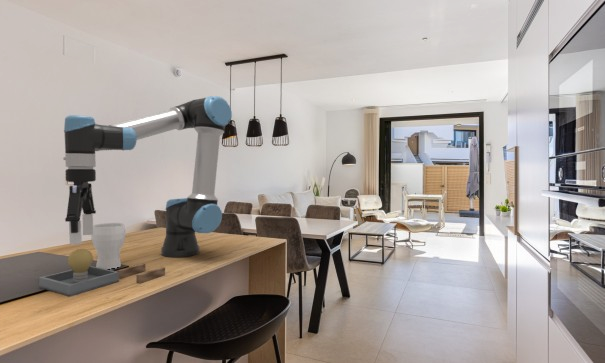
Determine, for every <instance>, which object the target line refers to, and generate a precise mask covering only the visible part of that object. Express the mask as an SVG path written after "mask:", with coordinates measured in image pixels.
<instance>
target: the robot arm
mask: <svg viewBox="0 0 605 363" xmlns="http://www.w3.org/2000/svg"><path fill="white" fill-rule="evenodd" d="M232 116H233V113H232V109H231V107H230V104H229V103H228V101H227V100H225V99H224V98H223V97H222V96H217V95H215V96H212V95H211V96H207V97H202V98H198V99H192V100H189V101H187V102H184V103H181V104H179V105H175V106H171V107H170V109H169V110H167V111H163V112H158V113H154V114H149V115H146V116H141V117H138V118H133V119H130V120H126V121H122V122H117V123H116V122H115V123H113V124H112V123H111V124H109V125H105V124H98V123H96V121H95V118H94V117H93V116H88V115H80V114H79V115H78V114H72V115H70V114H69V115H67V116H66V117H65V118H64V128H63V132H64V149H65V151H64V152H65V154H64V155H65V156H63V158H62V159H63V161H65V167H66V170H65V181H66V182H67V183H73V185H69V187H68V188H69V195H68V203H67V211H66V217H65V218H64V220H65V222H67V223H68V225H69V226H68V227H69V228H68V229H69V234H68V235H69V245H82V241H83V240H82V236H91V235H93V226H94V217H93V216H94V214H96V213H97V210H96V209H95V204H94V197H93V190H92V187H93V186H92V183H93V182H95V181H96V180H97V178H96V176H97V174H96V169H95V168H96V166H97V165H96V161H97V160H96V152H101V151H132V150H134V149H135V147H136V144H137V141H139V140H141V139H142V140H143V139H145V138H149V137H153V136H155V135H159V134H160V135H161V134H163V133H166V132H170V131H173V130H177V131H182V130H187V129H194V130H195V131H196V132H197V139H196V140H197V141H196V150H195V160H194V171H193V181H192V190H191V194H190V195H188V196H187V197H185V198H183V197H182V198H173V199H168V200H167V201H166V204H165V205H166V206H165V236H164V240H163V245H162V247H161V248H160V249H161V250H160V253H161V256H163V257H168V258H183V257H191V256H196V255H197V254H200V245H199V244H198V240H197V237H196V236H197V235H196V233H198V234H210V233H213V232H214V231H215V230H216V229H217V228H218V227H219V226H220V224H221V222H222V219H223V212H222V210H221V207H220V206H219V205H218V202H219V200H218V198H217V196H216V195H215V191H216V190H215V189H216V181H217V168H218V159H219V152H220V151H219V150H220V149H219V148H220V140H221V139H220V138H221V136H222V135H223V134H225V128H226V126H227V125H229V123H230V122H231V120H232ZM67 168H68V169H67ZM90 182H91V183H90ZM82 212H83V213H82ZM81 214H82V216H81ZM81 217H82V220H81Z"/></svg>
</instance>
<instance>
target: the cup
mask: <svg viewBox="0 0 605 363" xmlns="http://www.w3.org/2000/svg"><path fill="white" fill-rule="evenodd" d="M126 236H127V235H126V228H125V224H124V223H120V222H110V223H109V222H107V223H99V224H93V235H90V237H91V238H90V239H91V242H92V245H93V247H94V249H95V250H96V255H97V260H96V265H95V267H98V268H103V269H110V270H112V269H111V268H115V269H118V268H117V267H119V268H120V267H121V266H122V265H121V264H122V263H121V258H120V257H121V256H120V253H121V248H122V247H123V245H124V243H125V241H126Z"/></svg>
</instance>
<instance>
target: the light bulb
mask: <svg viewBox="0 0 605 363" xmlns="http://www.w3.org/2000/svg"><path fill="white" fill-rule="evenodd" d="M93 261H94V256H93V253H92V252H91V251H90V250H88V249H85V248H81V249H76V250H73V251H72V252H71V253H70V254H69V255H68V257H67V265H68V267H69V268H70V270H73V271H74V273H73V282H74V283H78V282H81V281H85V280H88V271H87V269H88V268H89V267H90V266H92V263H93Z"/></svg>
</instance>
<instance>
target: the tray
mask: <svg viewBox="0 0 605 363" xmlns="http://www.w3.org/2000/svg"><path fill="white" fill-rule="evenodd" d="M87 271H88V280H85V281H81V282H78V283H74V282H73V273H74V271H73V270H72V269H69V270H65V271H62V272H61V271H60V272H58V273H53V274H48V275H44V276H39V277H38V288H39V289H42V288H43V290H45V289H46V291H49V292H53V293H56V294H60V295H64V296H67V297H73V296H77V295H81V294H83V293H86V292H89V291H92V290H95V289H99V288H103V287H105V286H108V285H112V284H115V283H118V282H119V281H120V279H119V272H117V270H113V269H110V270H107V269H103V268H98V267H96V266H92V265H91V266H90V267H89V268H88V269H87Z"/></svg>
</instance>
